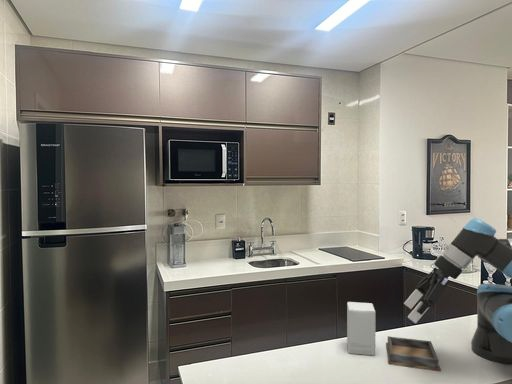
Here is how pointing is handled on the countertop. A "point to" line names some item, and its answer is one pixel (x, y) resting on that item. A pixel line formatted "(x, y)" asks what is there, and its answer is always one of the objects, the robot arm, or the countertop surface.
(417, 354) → the gray rimmed tray
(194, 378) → the countertop surface
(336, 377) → the countertop surface
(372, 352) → the supplement box
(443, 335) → the countertop surface
